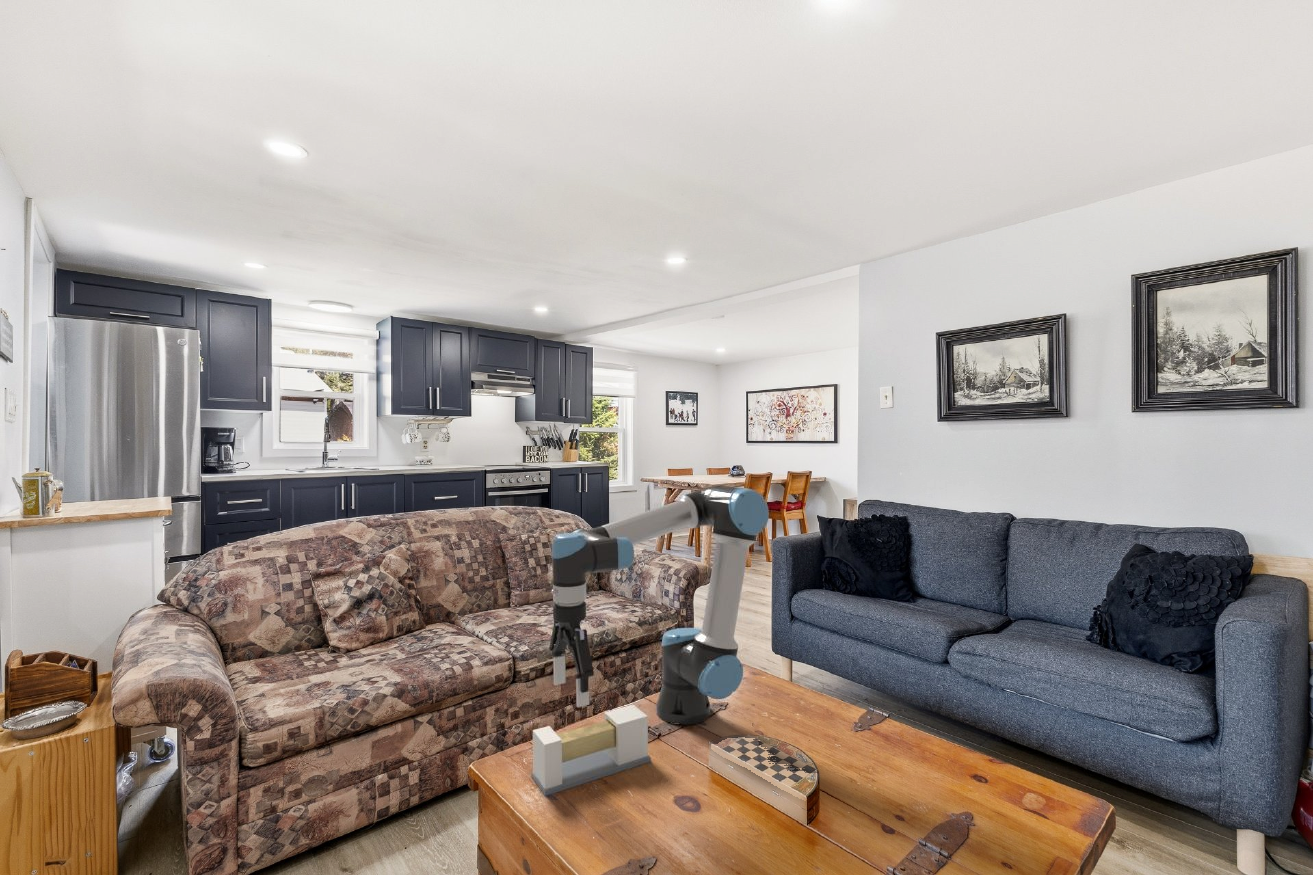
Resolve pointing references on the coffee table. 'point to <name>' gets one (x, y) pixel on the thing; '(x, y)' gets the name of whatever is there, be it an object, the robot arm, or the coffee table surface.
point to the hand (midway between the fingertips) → (570, 694)
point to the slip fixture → (593, 766)
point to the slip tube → (587, 740)
